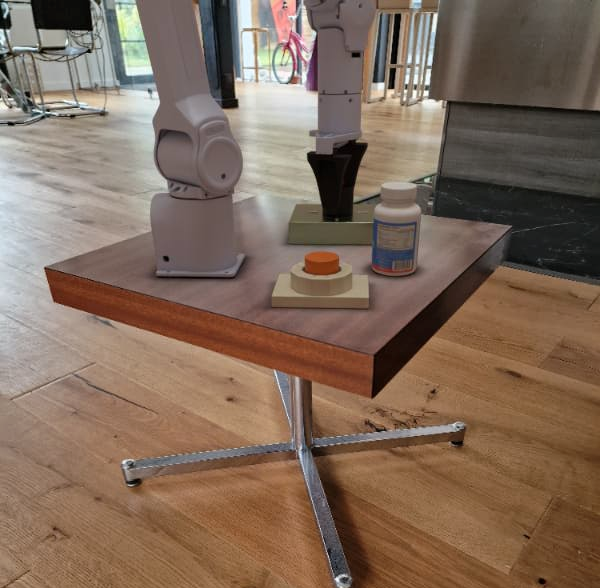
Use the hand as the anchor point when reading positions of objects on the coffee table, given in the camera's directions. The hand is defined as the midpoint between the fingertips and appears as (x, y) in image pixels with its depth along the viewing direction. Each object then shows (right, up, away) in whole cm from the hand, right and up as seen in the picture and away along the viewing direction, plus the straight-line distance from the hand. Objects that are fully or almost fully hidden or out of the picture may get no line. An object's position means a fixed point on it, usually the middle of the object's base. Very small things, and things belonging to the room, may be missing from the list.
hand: (337, 202), depth 81 cm
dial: (0, -1, +1) cm, 1 cm away
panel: (0, -4, +2) cm, 4 cm away
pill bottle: (+6, -12, -12) cm, 18 cm away
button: (-3, -14, -20) cm, 25 cm away
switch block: (-3, -17, -19) cm, 25 cm away
